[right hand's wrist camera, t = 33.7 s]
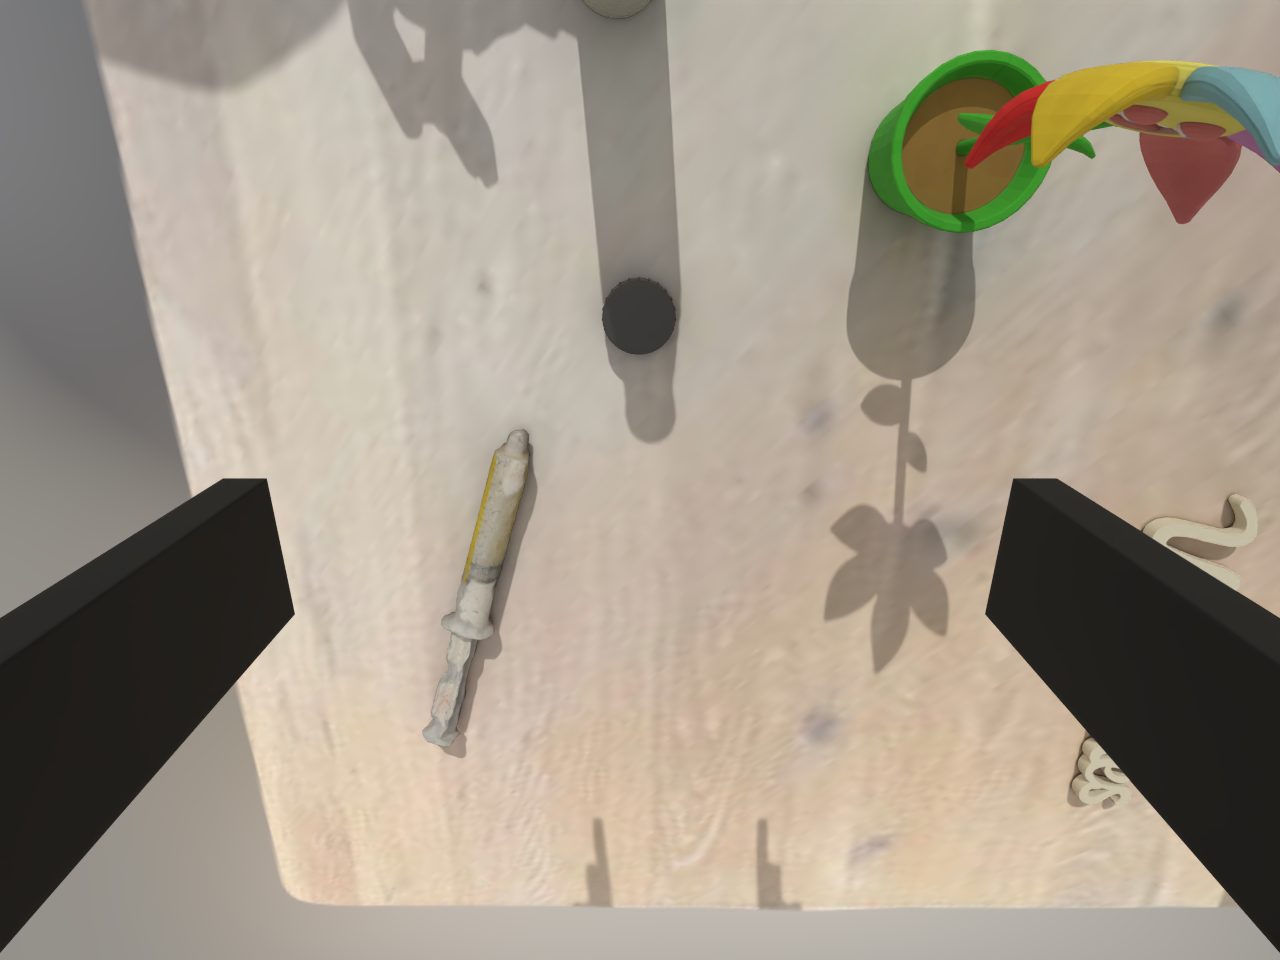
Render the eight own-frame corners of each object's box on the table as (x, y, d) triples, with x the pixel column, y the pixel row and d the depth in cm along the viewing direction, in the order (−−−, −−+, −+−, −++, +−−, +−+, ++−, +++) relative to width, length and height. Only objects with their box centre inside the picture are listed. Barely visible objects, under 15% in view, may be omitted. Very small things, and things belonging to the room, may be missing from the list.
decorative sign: (1117, 500, 45) (1270, 499, 45) (1108, 494, 46) (1257, 493, 46) (1038, 806, 55) (1164, 805, 55) (1031, 797, 56) (1155, 796, 55)
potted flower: (824, 209, 40) (1087, 198, 16) (872, 57, 37) (1268, -216, 14) (976, 249, 41) (1433, 293, 17) (1033, 103, 38) (1669, -80, 14)
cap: (677, 279, 41) (679, 282, 40) (671, 352, 43) (673, 357, 41) (604, 274, 41) (603, 276, 40) (601, 347, 43) (600, 352, 41)
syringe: (503, 418, 44) (494, 430, 42) (558, 437, 45) (553, 450, 42) (415, 713, 53) (403, 739, 50) (462, 727, 53) (453, 753, 51)
